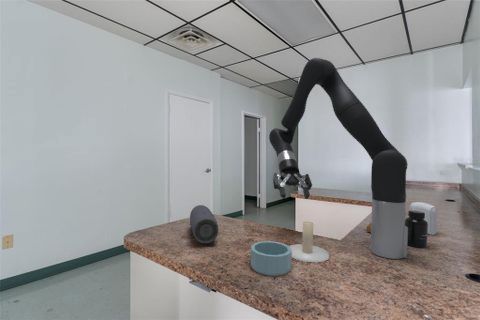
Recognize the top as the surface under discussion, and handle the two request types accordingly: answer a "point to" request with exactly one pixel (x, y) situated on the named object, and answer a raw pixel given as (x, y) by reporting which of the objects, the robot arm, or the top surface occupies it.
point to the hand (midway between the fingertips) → (295, 197)
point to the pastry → (369, 228)
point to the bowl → (271, 258)
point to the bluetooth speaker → (203, 224)
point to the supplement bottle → (417, 229)
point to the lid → (308, 247)
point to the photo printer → (427, 215)
